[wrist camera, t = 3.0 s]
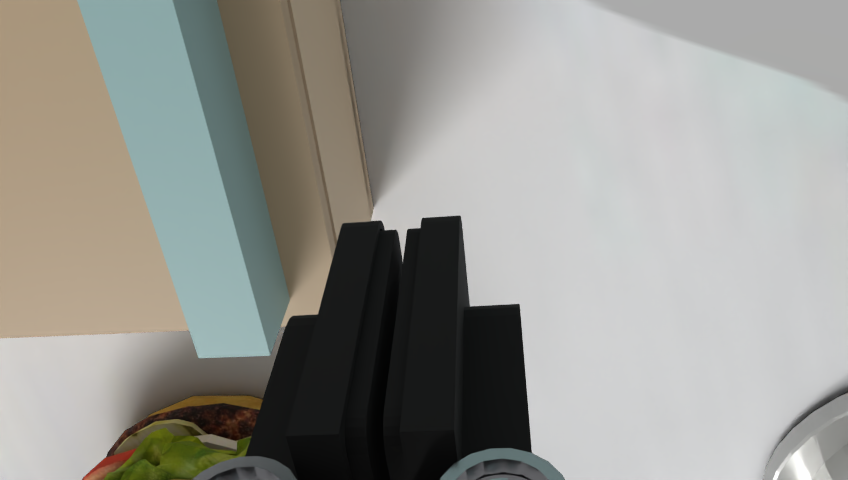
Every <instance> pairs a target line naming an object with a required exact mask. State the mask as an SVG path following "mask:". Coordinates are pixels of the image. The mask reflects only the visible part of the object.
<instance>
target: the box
mask: <svg viewBox="0 0 848 480" xmlns="http://www.w3.org/2000/svg"><path fill="white" fill-rule="evenodd" d="M287 3H288V8H289V13H290V19H291V24H292V29H293V34H294V39H295V44H296V49H297V54H298V59H299V64H300V69H301V74H302V79H303V84H304V90H305V95H306V100H307V105H308V110H309V115H310V120H311V125H312V130H313V135H314V140H315V145H316V150H317V155H318V161H319V166H320V171H321V176H322V181H323V186H324V191H325V196H326V201H327V206H328V211H329V216H330V221H331V226H332V232H333V237H334V242H335V247H336V244H337V240H338V236H339V233H340V229H341V226H342V224H343V223H352V222H368V221H371V217H372V213H373V209H374V208H373V202H372V196H371V190H370V183H369V177H368V171H367V165H366V159H365V152H364V146H363V140H362V134H361V127H360V121H359V115H358V109H357V103H356V96H355V90H354V84H353V78H352V72H351V65H350V59H349V53H348V47H347V41H346V34H345V28H344V22H343V16H342V10H341V3H340V0H287Z"/></svg>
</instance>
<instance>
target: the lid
mask: <svg viewBox="0 0 848 480" xmlns="http://www.w3.org/2000/svg"><path fill="white" fill-rule="evenodd" d="M335 248H336V247H335V242H334V237H333V232H332V226H331V221H330V216H329V211H328V206H327V201H326V196H325V191H324V186H323V181H322V176H321V171H320V166H319V161H318V155H317V150H316V145H315V140H314V135H313V130H312V125H311V120H310V115H309V110H308V105H307V100H306V95H305V90H304V84H303V79H302V74H301V69H300V64H299V59H298V54H297V49H296V44H295V39H294V34H293V29H292V24H291V19H290V13H289V8H288V3H287V0H0V338H20V337H44V336H69V335H93V334H118V333H142V332H167V331H189V332H190V334H191V337H192V340H193V343H194V346H195V349H196V352H197V355H198V358H221V357H248V356H270V355H271V352H272V349H273V346H274V344H275V341H276V338H277V335H278V332H279V330H280V327H286V325H287V323H288V320H289V319H290V318H291V317H292V316H297V315H316V314H318V312H319V308H320V304H321V301H322V297H323V293H324V289H325V285H326V282H327V278H328V274H329V270H330V267H331V263H332V259H333V255H334V251H335Z"/></svg>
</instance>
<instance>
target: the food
mask: <svg viewBox="0 0 848 480" xmlns="http://www.w3.org/2000/svg"><path fill="white" fill-rule="evenodd" d="M262 401H263V399H259V398H256V397H252V396H192V397H190V398H187V399H185V400H183V401H180V402H178V403H176V404H173V405H171V406H169V407H166V408H164V409H162V410H159V411H157V412H155V413H152V414H150V415H149V416H148V417H147V418H146V419H144V420H142V421H141V422H139V423H137V424H136V425H134V426H132V427H131V428H129V429H127V430H126V431H124V433H123V434H122V435H121V436H120V438H119V439H118V440H117V442H116V443H115V444H114V445H113V447H112V448H111V449H110V450H109V452H108V454H107V456H106V458H104V459H103V460H102V461H101V462H100V463H99V464H98V465H97V466H96V467H94V468H93V469H92V470H91V471H90V472H89V473H88V474H87V475H86V476H85V477H84V478H83V479H82V480H192V479H193V478H195V477H196V476H197V475H198V474H199V473H201V472H202V471H204V470H206V469H208V468H210V467H212V466H214V465H216V464H218V463H219V462H223V461H226V460H230V459H233V458H237V457H245V455H246V452H247V449H248V446H249V442H250V439H251V436H252V433H253V430H254V426H255V423H256V420H257V417H258V414H259V411H260V407H261V404H262Z"/></svg>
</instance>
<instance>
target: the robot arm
mask: <svg viewBox="0 0 848 480" xmlns="http://www.w3.org/2000/svg"><path fill="white" fill-rule="evenodd" d="M192 480H565V479H564V477H563V475H562V474H561V473H560V472H559V471H558V470H557V469H556V468H555V467H553V466H552V465H551V464H550V463H549V462H548V461H546V460H544V459H542V458H540V457H538V456H536V455H535V454H533V453H532V451H531V439H530V426H529V414H528V402H527V389H526V377H525V365H524V353H523V340H522V328H521V316H520V305H519V304H512V305H492V306H473V307H470V305H469V295H468V284H467V273H466V263H465V252H464V241H463V231H462V222H461V216H447V217H432V218H422V221H421V228H417V229H408V230H407V236H406V244H405V252H404V259H403V262H402V255H401V249H400V242H399V236H398V232H397V230H384V226H383V223H382V221H368V222H352V223H343V224H342V226H341V229H340V233H339V236H338V240H337V244H336V248H335V251H334V255H333V259H332V263H331V267H330V270H329V274H328V278H327V282H326V285H325V289H324V293H323V297H322V301H321V304H320V308H319V312H318V314H316V315H297V316H292V317H291V318H290V319H289V320H288V323H287V325H286V327H285V331H284V334H283V337H282V340H281V343H280V347H279V350H278V353H277V356H276V359H275V363H274V366H273V369H272V372H271V375H270V379H269V382H268V385H267V388H266V391H265V395H264V398H263V401H262V404H261V407H260V411H259V414H258V417H257V420H256V423H255V426H254V430H253V433H252V436H251V439H250V442H249V446H248V449H247V452H246V455H245V457H237V458H233V459H230V460H226V461H223V462H219V463H218V464H216V465H214V466H212V467H210V468H208V469H206V470H204V471H202V472H201V473H199V474H198V475H197V476H196V477H195V478H193V479H192ZM763 480H848V393H846V394H844V395H842V396H839V397H837V398H836V399H834V400H832V401H831V402H829V403H827V404H826V405H824V406H822V407H821V408H819V409H817V410H816V411H814V412H813V413H811V414H810V415H809V416H808V417H806V418H805V419H804V420H803V421H802V422H800V423H799V424H798V425H797V426H795V427H794V428H793V429H792V430H791V431H790V432H789V433H788V435H787V436H786V437H785V438H784V439H783V440H782V442H781V443H780V444H779V445H778V446H777V447H776V449H775V451H774V453H773V455H772V456H771V458H770V460H769V462H768V464H767V465H766V469H765V473H764V476H763Z"/></svg>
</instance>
